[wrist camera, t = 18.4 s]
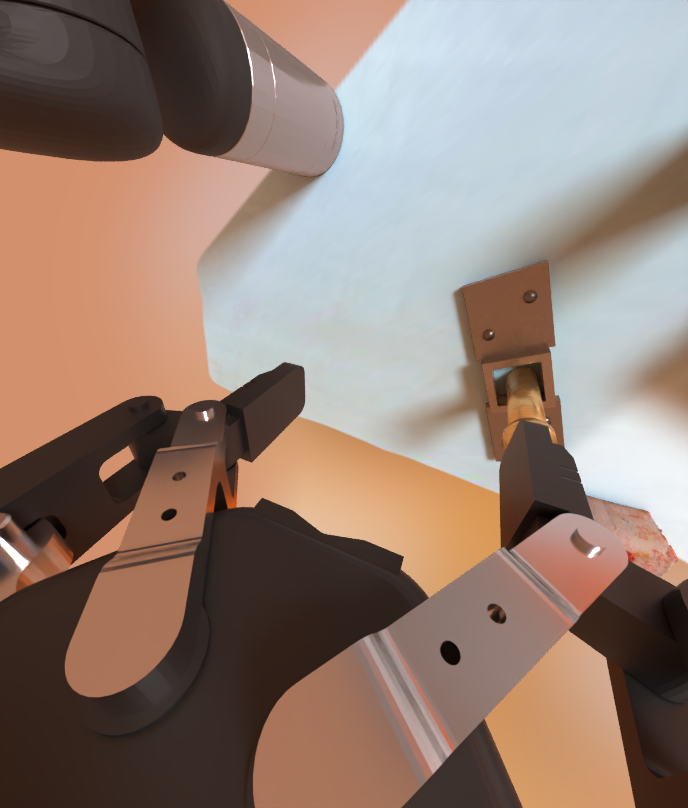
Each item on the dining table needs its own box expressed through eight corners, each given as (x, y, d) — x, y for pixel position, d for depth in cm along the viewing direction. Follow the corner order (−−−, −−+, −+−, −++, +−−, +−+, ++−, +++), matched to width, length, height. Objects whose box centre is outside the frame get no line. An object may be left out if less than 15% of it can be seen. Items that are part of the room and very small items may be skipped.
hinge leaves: (563, 454, 44) (567, 467, 42) (496, 456, 49) (496, 468, 46) (546, 260, 34) (550, 263, 32) (462, 285, 39) (460, 290, 36)
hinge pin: (497, 389, 43) (496, 452, 32) (508, 360, 41) (511, 417, 29) (533, 397, 42) (545, 466, 30) (546, 367, 39) (566, 430, 28)
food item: (663, 508, 43) (700, 572, 35) (633, 541, 47) (661, 605, 39) (553, 479, 47) (564, 531, 39) (535, 512, 51) (542, 564, 44)
